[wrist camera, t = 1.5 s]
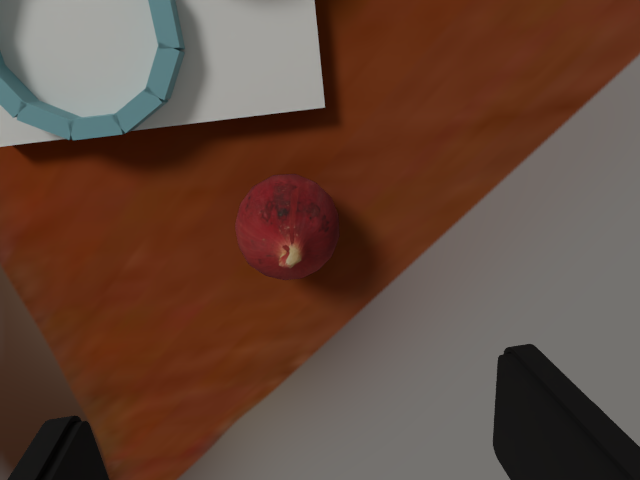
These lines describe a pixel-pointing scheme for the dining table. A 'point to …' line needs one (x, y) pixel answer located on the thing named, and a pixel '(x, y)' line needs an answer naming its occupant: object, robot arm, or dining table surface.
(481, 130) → the dining table surface
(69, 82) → the carrier plate
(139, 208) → the dining table surface
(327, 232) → the pomegranate
